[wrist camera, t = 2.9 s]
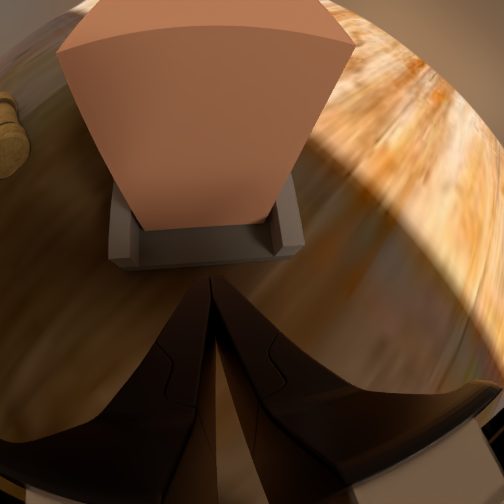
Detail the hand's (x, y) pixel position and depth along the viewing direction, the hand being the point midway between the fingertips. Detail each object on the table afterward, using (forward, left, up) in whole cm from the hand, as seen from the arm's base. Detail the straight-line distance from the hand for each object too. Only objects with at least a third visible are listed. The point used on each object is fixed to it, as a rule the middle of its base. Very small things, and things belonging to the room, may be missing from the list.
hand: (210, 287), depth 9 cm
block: (+7, -3, -6) cm, 10 cm away
